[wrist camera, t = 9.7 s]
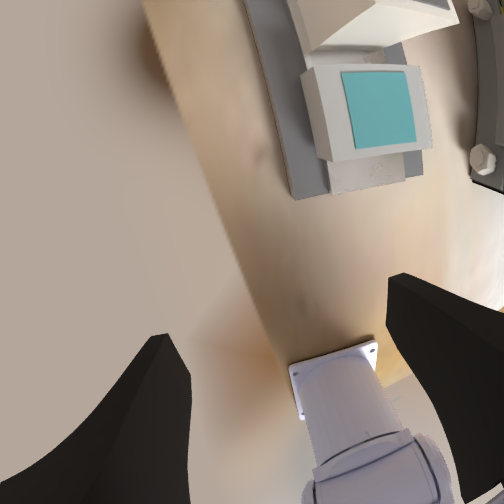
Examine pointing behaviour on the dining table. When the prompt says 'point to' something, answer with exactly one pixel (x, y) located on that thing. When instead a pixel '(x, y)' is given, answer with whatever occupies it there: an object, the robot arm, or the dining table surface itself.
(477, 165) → the electrical component
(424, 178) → the dining table surface
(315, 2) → the block
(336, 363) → the robot arm
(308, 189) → the plate
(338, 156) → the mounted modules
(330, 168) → the din rail
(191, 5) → the dining table surface
